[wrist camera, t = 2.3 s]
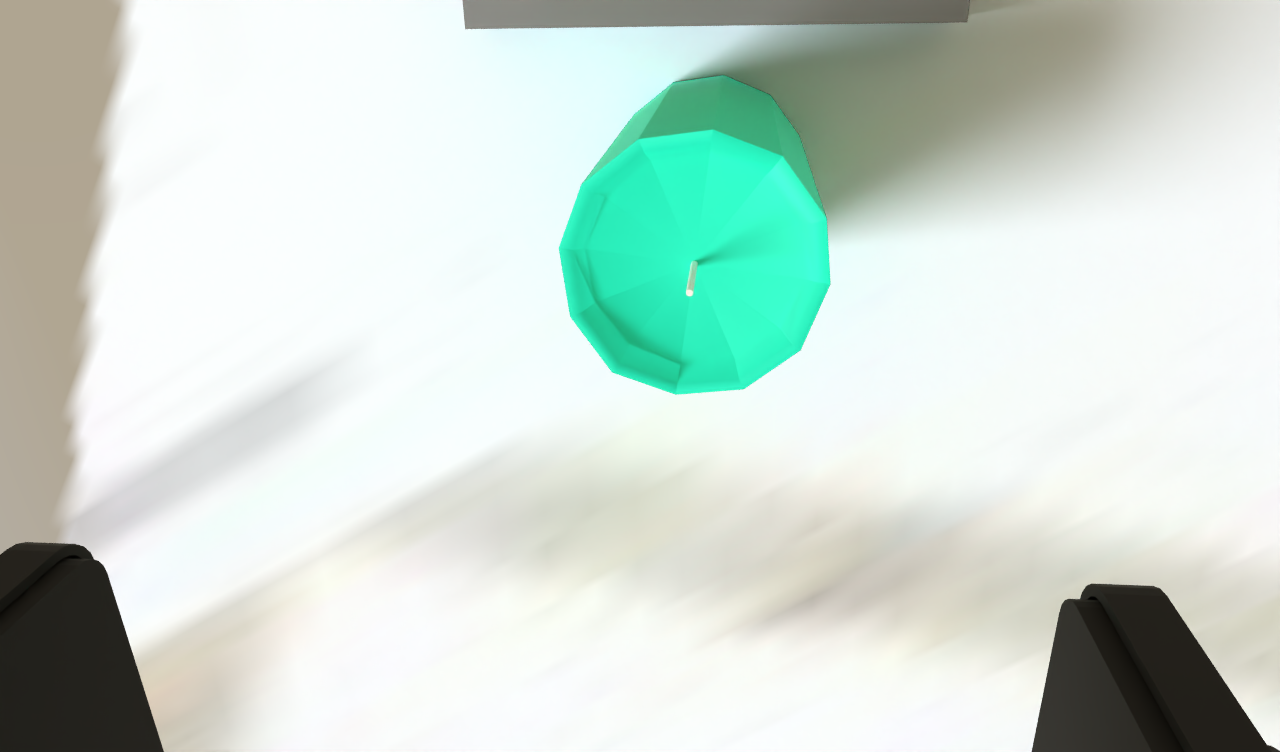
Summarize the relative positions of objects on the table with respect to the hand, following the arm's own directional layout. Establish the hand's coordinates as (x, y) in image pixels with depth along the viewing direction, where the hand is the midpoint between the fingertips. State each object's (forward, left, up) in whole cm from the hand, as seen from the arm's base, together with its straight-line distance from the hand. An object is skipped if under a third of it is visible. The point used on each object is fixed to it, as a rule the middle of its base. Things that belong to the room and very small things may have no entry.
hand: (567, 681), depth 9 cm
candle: (-1, 0, -23) cm, 23 cm away
